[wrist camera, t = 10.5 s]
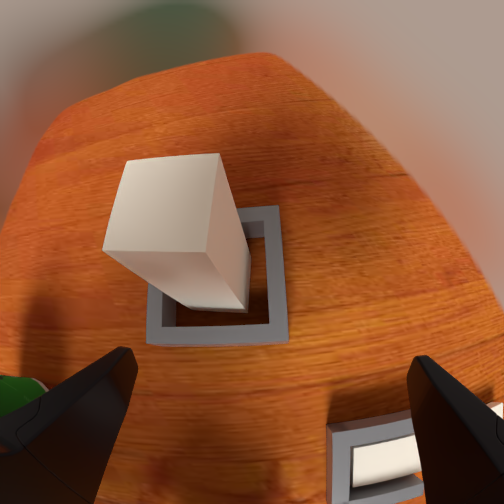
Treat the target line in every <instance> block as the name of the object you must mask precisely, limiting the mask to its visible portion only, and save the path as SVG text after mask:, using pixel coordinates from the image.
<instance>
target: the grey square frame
mask: <svg viewBox="0 0 504 504" xmlns="http://www.w3.org/2000/svg"><path fill="white" fill-rule="evenodd" d="M237 213H238V216H239V219H240V222H241V226H242V229H243V232H244V235H245V239H247V238H260V237H265V251H266V269H267V287H268V305H269V324H256V325H235V326H203V327H176V300H175V299H173V298H172V297H170V296H169V295H167V294H165V293H164V292H162V291H161V290H159V289H158V288H156V287H155V286H153V285H152V284H150V283H149V282H148V296H147V321H146V343H147V344H152V345H157V346H167V347H222V346H252V345H272V344H287V343H288V342H289V334H288V318H287V303H286V288H285V274H284V261H283V249H282V237H281V225H280V214H279V205H273V206H260V207H248V208H237Z"/></svg>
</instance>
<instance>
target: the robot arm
mask: <svg viewBox="0 0 504 504" xmlns="http://www.w3.org/2000/svg"><path fill="white" fill-rule="evenodd" d="M137 373H138V365H137V362H136V359H135V357H134V354H133V351H132V349H131V348H128V347H122V346H120V347H117V348H116V349H114V350H113V351H111V352H109V353H108V354H106V355H105V356H103V357H102V358H100V359H98V360H97V361H95V362H94V363H92V364H90V365H89V366H87V367H86V368H84V369H82V370H81V371H79V372H78V373H76V374H74V375H73V376H71V377H70V378H68V379H66V380H65V381H63V382H62V383H60V384H58V385H57V386H55V387H54V388H52V389H50V390H49V391H47V392H46V393H44V394H42V396H39V397H37V398H36V399H34V400H33V401H31V402H29V403H27V404H26V405H24V406H22V407H20V408H18V409H17V410H15V411H13V412H11V413H9V414H7V415H5V416H2V417H0V504H94V501H95V498H96V495H97V492H98V489H99V486H100V483H101V480H102V477H103V474H104V471H105V468H106V466H107V463H108V460H109V457H110V454H111V452H112V449H113V446H114V443H115V441H116V438H117V435H118V433H119V430H120V427H121V425H122V422H123V420H124V417H125V415H126V412H127V409H128V406H129V402H130V398H131V395H132V391H133V387H134V384H135V380H136V377H137ZM407 386H408V394H409V402H410V410H411V418H412V424H413V429H414V434H415V438H416V443H417V448H418V453H419V459H420V464H421V470H422V476H423V483H424V490H425V497H426V504H504V420H503V419H502V418H501V417H500V416H499V415H497V414H496V413H495V412H494V411H493V410H492V409H491V408H489V407H488V406H487V405H486V404H485V403H484V402H482V401H481V400H480V399H479V398H478V397H477V396H475V395H474V394H473V393H472V392H471V391H470V390H468V389H467V388H466V387H465V386H464V385H462V384H461V383H460V382H459V381H458V380H456V379H455V378H454V377H453V376H452V375H450V374H449V373H448V372H447V371H446V370H444V369H443V368H442V367H441V366H440V365H438V364H437V363H436V362H435V361H434V360H432V359H431V358H430V357H429V356H427V355H420V356H415V357H414V359H413V361H412V363H411V366H410V368H409V371H408V373H407Z"/></svg>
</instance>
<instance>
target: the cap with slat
mask: <svg viewBox="0 0 504 504" xmlns="http://www.w3.org/2000/svg"><path fill="white" fill-rule="evenodd" d="M486 405H487V406H488V407H489V408H491V409H492V410H493V411H494V412H495V413H496V414H497V415H499V416H500V417H501V418H502V419H503V403H500V402H490V403H488V404H486ZM326 438H327V486H326V501H327V504H395V503H398V502H402V501H405V500H409V499H412V498H415V497H418V496H421V495H423V490H424V483H423V481H422V480H420V479H419V478H418V477H416V476H415V475H414V474H413V473H416V472H419V471H422V470H421V464H420V459H419V453H418V448H417V443H416V438H415V434H414V429H413V424H412V418H411V410H410V409H409V410H405V411H400V412H396V413H391V414H387V415H382V416H376V417H371V418H366V419H360V420H353V421H347V422H340V423H332V424H326ZM350 484H351V485H350Z"/></svg>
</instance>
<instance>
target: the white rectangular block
mask: <svg viewBox="0 0 504 504" xmlns="http://www.w3.org/2000/svg"><path fill="white" fill-rule="evenodd" d="M102 251H104V252H105V253H106V254H108V255H109V256H111V257H112V258H113V259H115V260H116V261H118V262H119V263H121V264H122V265H123V266H125V267H126V268H128V269H129V270H131V271H132V272H134V273H135V274H137V275H138V276H140V277H141V278H143V279H144V280H146V281H147V282H149V283H150V284H152V285H153V286H155V287H156V288H158V289H159V290H161V291H162V292H164V293H165V294H167V295H169V296H170V297H172V298H173V299H175V300H176V301H178V302H180V303H181V304H183V305H184V306H186V307H188V308H189V309H191V310H199V311H215V312H233V313H248V304H249V288H250V272H251V255H250V252H249V248H248V245H247V242H246V239H245V235H244V232H243V229H242V226H241V222H240V219H239V216H238V213H237V209H236V206H235V203H234V200H233V196H232V193H231V190H230V187H229V183H228V180H227V177H226V173H225V170H224V167H223V164H222V160H221V157H220V154H219V153H213V154H196V155H182V156H170V157H159V158H149V159H140V160H132V161H127V163H126V166H125V169H124V172H123V175H122V178H121V182H120V185H119V188H118V191H117V195H116V198H115V202H114V205H113V209H112V212H111V216H110V220H109V224H108V228H107V232H106V236H105V240H104V244H103V248H102Z"/></svg>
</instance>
